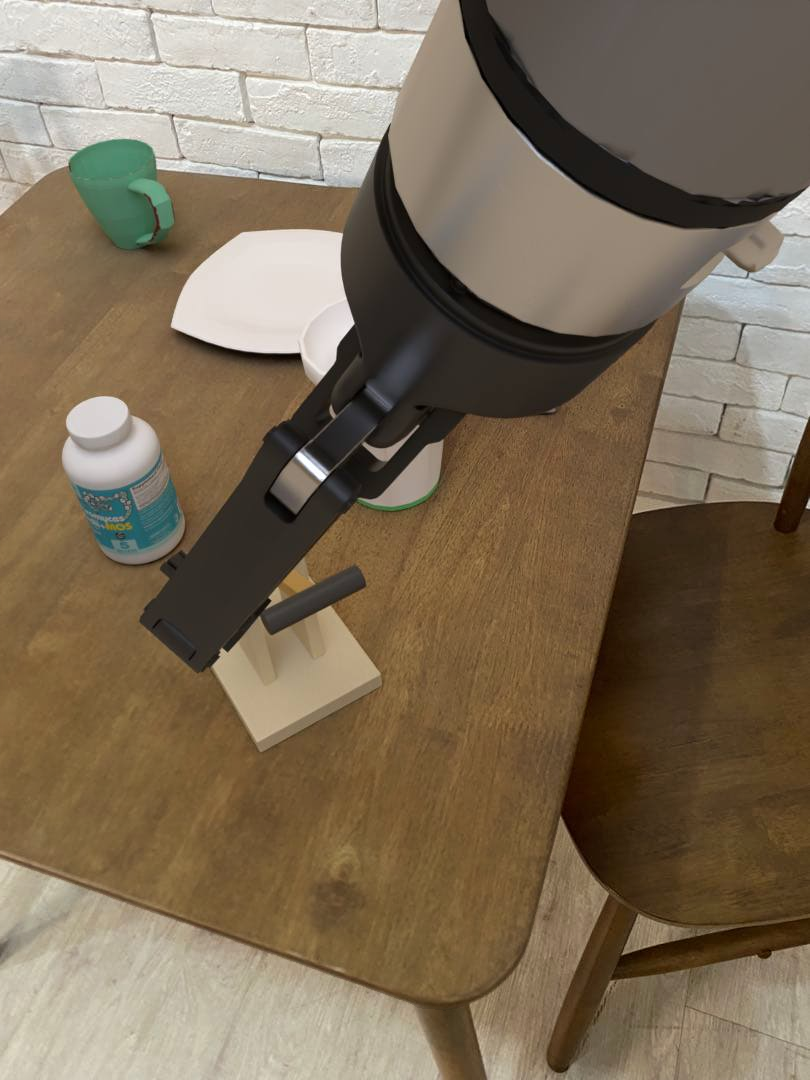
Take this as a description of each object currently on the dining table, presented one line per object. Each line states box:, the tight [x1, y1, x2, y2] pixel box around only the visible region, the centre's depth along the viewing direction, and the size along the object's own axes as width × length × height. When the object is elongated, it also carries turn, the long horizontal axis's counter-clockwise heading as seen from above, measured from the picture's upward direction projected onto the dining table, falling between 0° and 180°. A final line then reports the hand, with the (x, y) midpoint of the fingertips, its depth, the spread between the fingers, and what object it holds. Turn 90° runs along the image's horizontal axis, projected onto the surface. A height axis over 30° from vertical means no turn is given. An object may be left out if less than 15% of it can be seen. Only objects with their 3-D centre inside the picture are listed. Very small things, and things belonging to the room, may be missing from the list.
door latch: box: [210, 556, 383, 754], centre depth 65 cm, size 12×10×14 cm
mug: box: [67, 138, 176, 250], centre depth 108 cm, size 15×10×10 cm
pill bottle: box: [61, 395, 186, 565], centre depth 75 cm, size 8×7×14 cm
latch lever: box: [260, 564, 367, 635], centre depth 57 cm, size 13×6×2 cm, turn 32°
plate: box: [170, 228, 346, 355], centre depth 102 cm, size 23×23×2 cm
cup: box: [298, 296, 445, 512], centre depth 77 cm, size 12×12×15 cm
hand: (317, 508), depth 40 cm, fingers open, 13 cm apart
